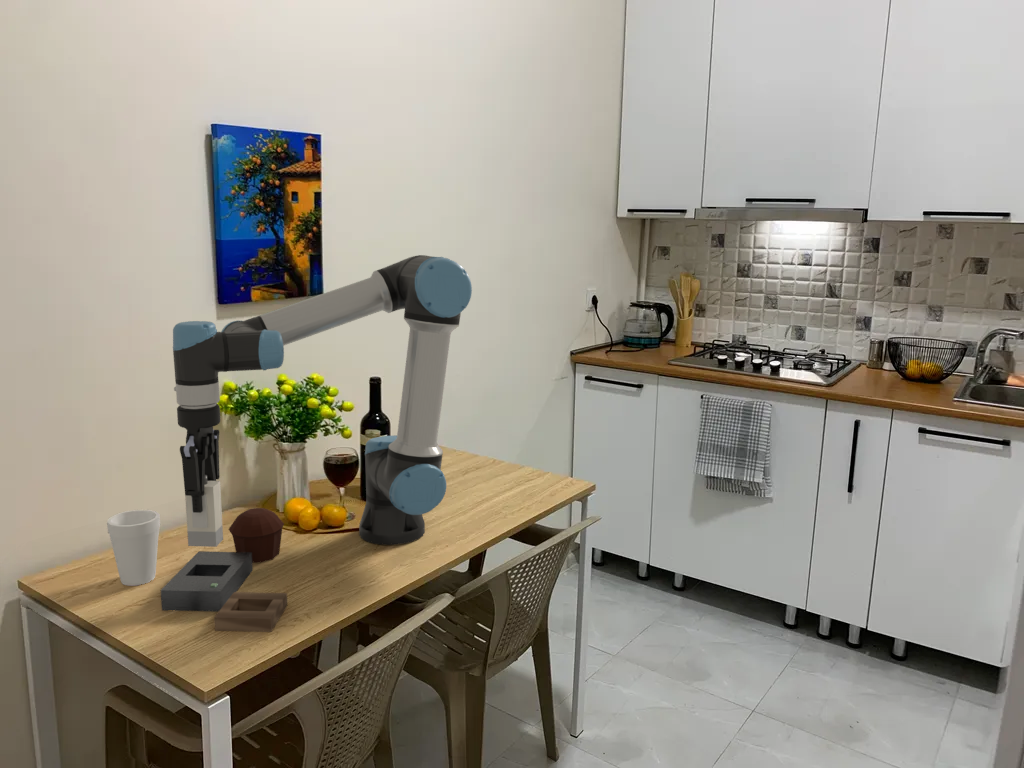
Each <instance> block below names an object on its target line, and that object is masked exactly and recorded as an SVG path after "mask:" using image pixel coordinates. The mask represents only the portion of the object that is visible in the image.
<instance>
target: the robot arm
mask: <svg viewBox="0 0 1024 768" xmlns="http://www.w3.org/2000/svg"><path fill="white" fill-rule="evenodd" d="M472 288H473V287H472V282H471V278H470V276H469V274H468V272H467V271H466V269H465V268H464V267H463V266H462V265H461V264H459V263H458V262H457V261H455V260H452V259H450V258H447V257H443V256H430V255H426V254H425V255H424V254H423V255H422V254H421V255H419V254H418V255H412V256H410V257H408V258H405V259H402V260H399V261H397V262H394V263H392V264H389V265H387V266H384V267H383V268H379V269H377V270H374V271H373V272H372V273H371V276H370V277H368V278H365V279H362V280H359V281H356V282H354V283H353V282H352V283H349V284H347V285H345V286H342V287H339V288H336V289H333V290H330V291H327V292H324V293H321V294H318V295H316V296H313V297H309V298H307V299H303V300H301V301H298V302H294V303H292V304H290V305H287V306H283V307H280V308H278V309H274V310H272V311H269V312H266V313H265V312H264V313H263V314H259V315H258V316H254V317H251V318H248V319H245V320H234V321H230V322H229V323H227V324H226V325H225V326H223V328H222V329H221V331H218V329H217V328H216V324H215V323H214V322H212V321H206V320H202V321H201V320H193V321H190V320H189V321H183V322H182V321H181V322H178V323H176V324H175V325H174V326H173V329H172V353H173V354H172V355H173V367H174V379H175V386H174V387H173V391H174V392H175V393H176V395H175V397H176V404H178V407H176V413H177V415H176V416H177V425H178V426H179V427H180V428H183V429H185V430H186V435H185V436H186V437H185V445H180V447H179V454H180V457H181V462H182V476H183V484H184V496H185V495H187V496H191V505H192V522H193V527H194V528H207V527H208V510H207V494H204V482H205V475H207V481H217V480H220V478H221V477H220V476H221V475H220V451H219V450H220V449H219V448H220V447H219V445H220V444H219V443H220V442H219V441H220V430H219V429H214V427H216V426H218V425H219V424H221V405H219V404H218V403H219V402H220V401H221V398H220V396H221V395H220V384H219V383H220V382H219V373H221V372H222V373H226V372H240V371H242V372H243V371H245V372H246V371H267V370H273V369H279V368H280V367H281V368H282V365H283V364H284V360H285V359H284V357H285V350H284V349H285V348H284V346H286V345H290V344H291V343H294V342H295V343H296V342H297V341H300V340H303V339H306V338H308V337H312V336H314V335H315V336H316V335H317V334H321V333H323V332H326V331H328V330H331V329H334V328H337V327H340V326H343V325H345V324H348V323H351V322H354V321H356V320H360V319H362V318H363V319H364V318H365V317H368V316H371V315H373V314H377V313H379V312H382V311H383V312H385V313H387V314H390V313H393V312H396V311H399V310H404V312H403V313H404V315H403V320H404V321H405V322H406V324H407V325H408V326H409V333H408V334H409V335H408V341H407V348H406V349H407V350H406V359H405V366H404V367H405V368H404V374H403V384H402V393H401V399H400V400H401V402H400V409H399V416H398V417H399V418H398V425H397V433H396V434H397V435H384V436H377V437H373V438H370V439H368V440H367V441H366V443H365V449H364V450H365V452H364V458H365V488H366V489H365V491H366V492H365V493H366V495H365V496H366V498H365V499H366V503H365V506H364V508H363V513H362V515H361V518H360V522H359V525H358V529H359V533H358V535H359V537H360V538H361V539H362V540H363V541H365V542H367V543H370V544H374V545H382V546H384V545H385V546H392V545H393V546H395V545H396V546H397V545H402V544H403V545H404V544H409V543H412V542H415V541H417V540H420V539H421V538H422V537H423V536H424V535H425V532H426V527H425V526H426V524H425V520H424V517H423V515H425V514H427V513H429V512H431V511H433V510H434V509H435V508H436V507H437V506H439V504H441V502H442V501H443V499H444V497H445V494H446V492H447V479H446V476H445V474H444V472H443V471H442V470H441V469H442V461H443V455H444V454H443V452H444V450H443V449H442V447H441V446H440V445H439V444H438V436H439V435H438V434H439V426H440V420H441V414H442V413H441V411H442V403H443V396H444V389H445V382H446V379H445V378H446V372H447V365H448V357H449V351H450V350H449V349H450V342H451V335H452V332H453V331H454V330H456V329H457V328H458V327H459V326H460V320H461V314H462V312H463V311H464V310H465V309H466V308H467V307H468V305H469V303H470V301H471V299H472V291H473V289H472ZM423 534H424V535H423ZM421 536H422V537H421ZM420 537H421V538H420ZM414 540H415V541H414Z"/></svg>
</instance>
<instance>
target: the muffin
mask: <svg viewBox="0 0 1024 768" xmlns="http://www.w3.org/2000/svg"><path fill="white" fill-rule="evenodd" d="M284 526H285V522H283V521H282V519H281V518H280V517H279V516H278V515H277V514H276V512H274V511H273V510H270V509H267V508H264V507H254V508H250V509H246V510H245V511H243V512H242V513H240V514H238V515H237V517H236V518H235V519H234V521H233V522H232V524H231V525H230V526H229V528H228V531H229V532H230V534H231V535H232V540H233V544H234V548H235V552H252V564H254V563H255V564H260V563H265V562H267V561H272V560H274V559H275V558H276V557H278V556H279V555H280V552H281V551H280V548H281V542H282V541H281V540H282V533H283V528H284Z"/></svg>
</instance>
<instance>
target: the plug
mask: <svg viewBox="0 0 1024 768" xmlns="http://www.w3.org/2000/svg"><path fill="white" fill-rule="evenodd" d="M221 493H222V491H221V480H216V481H207V475H205V482H204V494H207V510H208V527H207V528H194V527H193V522H192V505H191V496H187V495H185V494H184V496H185V500H184V501H185V513H186V515H185V516H186V530H187V531H186V532H187V545H188V547H210V548H212V547H218V546H219V544H221V542H223V540H224V532H223V531H224V530H223V527H224V526H223V513H222V511H223V510H222V507H223V506H222V494H221Z"/></svg>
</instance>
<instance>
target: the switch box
mask: <svg viewBox="0 0 1024 768" xmlns="http://www.w3.org/2000/svg"><path fill="white" fill-rule="evenodd" d="M253 567H254V566H253V563H252V552H236V551H198V552H197V553H195V555H194V556H193V557H192V558H191V559H190V560H189V561H188V562H187V563H186V564H185V565H183V567H182V568H180V570H179V571H177V573H176V574H175V575H174V576H173V577H172V578H171V579H170V580H169V581H168V582H167V583H166V584H165V585H164V586H163V587H162V588H161V589H160V600H161V601H160V602H161V604H160V605H161V611H168V610H172V611H171V612H175V611H176V612H178V611H179V612H181V611H182V612H215V613H216V612H217V613H218V612H219V611H220V609H221V608H222V607H223V605H224V604H225V603H226V602H227V600H228V599H229V598H230V596H231V595H232V594H233V593H234V592H238V590H239V589H240V588H241V586H243V584H244V582H245V581H246V580H247V579H248V578H249V576H250V575H251V573H253V570H254V569H253ZM173 610H175V611H173Z"/></svg>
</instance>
